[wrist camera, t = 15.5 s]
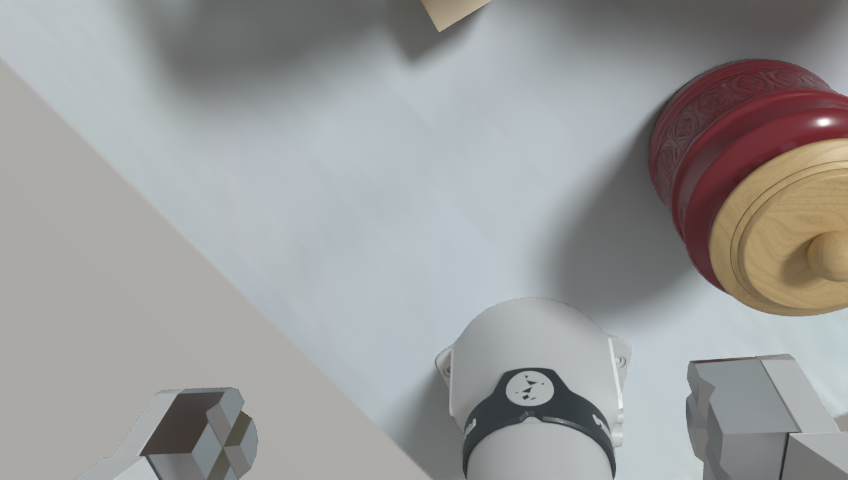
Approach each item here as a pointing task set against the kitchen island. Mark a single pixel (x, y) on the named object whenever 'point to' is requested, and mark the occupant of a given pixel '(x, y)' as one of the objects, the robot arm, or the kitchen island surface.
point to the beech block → (450, 10)
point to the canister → (759, 183)
